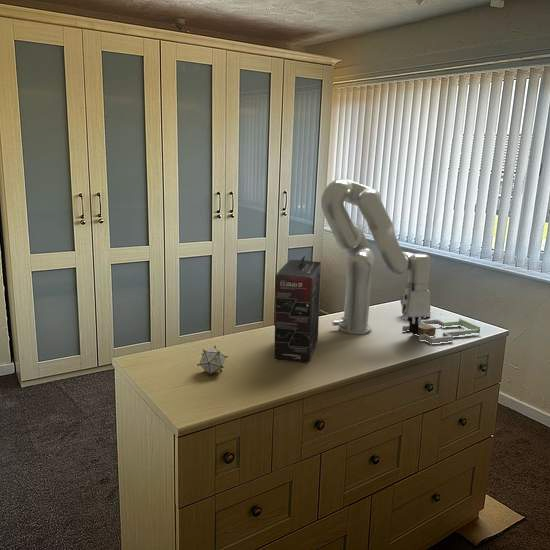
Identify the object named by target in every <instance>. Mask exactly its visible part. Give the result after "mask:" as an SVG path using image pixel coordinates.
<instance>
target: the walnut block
mask: <svg viewBox="0 0 550 550" xmlns="http://www.w3.org/2000/svg"><path fill="white" fill-rule="evenodd" d="M436 331H437V329H436V328H435V327H433V326H431V325H428V324H426V323H423V324H419V326H418V333H417V335H422V334H426V335H428V336H434V335H435V336H436ZM415 334H416V333H415Z"/></svg>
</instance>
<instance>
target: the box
mask: <svg viewBox="0 0 550 550" xmlns="http://www.w3.org/2000/svg"><path fill="white" fill-rule="evenodd" d="M423 323H426V324H439V325H441V326H443V327H444V326H452V325H461V326H464V327H466V328H468V329H471V330H464V329H463V330H454V331H445V332H444V331H443V332H442V336H435V337H430V336H428V335H426V334H422V335H419V337H418V339H417V340H426V341H428V342H429V343H431V344H432V343H440V342H448V341H452V342H453V339H454V338H453V336H459V335H465V334H471V333H479V334H480V333H481V332H480V331H481V326H479V325H477V324H474V323H472V322H470V321H468V320H465V319H463V318H458V320H453V321H442V320H440V319H438V318H434V319H422V320H421V322H420V323H419V324H423ZM409 326H410V324H409V325H402V330H401V332H402V331H407V330H409ZM429 343H428V344H429Z"/></svg>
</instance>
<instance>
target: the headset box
mask: <svg viewBox="0 0 550 550" xmlns="http://www.w3.org/2000/svg"><path fill="white" fill-rule="evenodd" d="M305 257H306V255H304V256H303V257H302V258H301V259H289V260H288V261H287V262H286V263H285V264H284V265H283V266H282V267H281V268H280V269H279V270H278V272H277V273H276V274H275V284H274V285H275V288H274V291H275V292H274V293H275V297H274V300H275V301H274V306H275V307H274V352H273V353H274V359H273V360H275V361H283V362H284V361H285V362H292V363H303V364H304V363H305V364H309V363H310V361H311V359H312V355H313V353H314V351H315V348H316V345H317V342H318V340H319V326H320V325H319V322H320V321H319V319H320V293H321V292H320V291H321V266H322V265H321V263H322V262H321V261H312V260H305Z"/></svg>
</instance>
